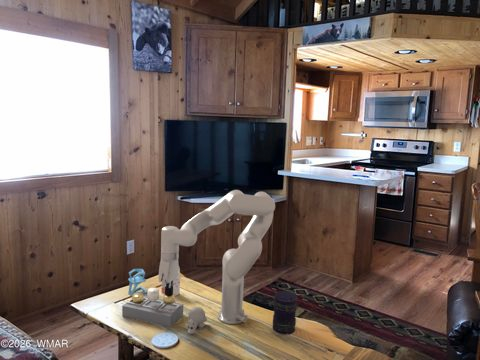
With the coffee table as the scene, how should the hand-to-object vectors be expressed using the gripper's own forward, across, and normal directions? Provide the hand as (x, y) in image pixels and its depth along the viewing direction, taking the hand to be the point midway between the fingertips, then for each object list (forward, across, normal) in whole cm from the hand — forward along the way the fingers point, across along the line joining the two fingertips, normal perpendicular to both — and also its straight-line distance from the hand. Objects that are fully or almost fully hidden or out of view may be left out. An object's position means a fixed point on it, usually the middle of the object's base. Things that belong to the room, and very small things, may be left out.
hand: (168, 295), depth 164 cm
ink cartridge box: (+12, -23, -12) cm, 28 cm away
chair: (+12, -17, -27) cm, 34 cm away
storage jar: (+11, -12, +50) cm, 52 cm away
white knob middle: (+3, 0, -8) cm, 8 cm away
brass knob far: (+6, 0, -16) cm, 17 cm away
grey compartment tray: (+11, 0, -8) cm, 14 cm away
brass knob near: (+3, 0, 0) cm, 3 cm away
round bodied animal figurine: (+11, +3, +14) cm, 19 cm away
